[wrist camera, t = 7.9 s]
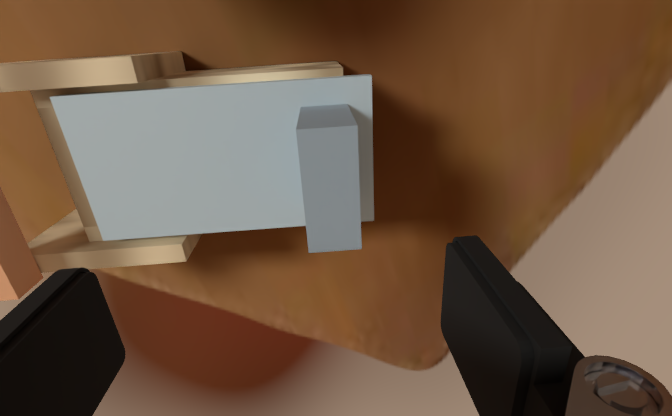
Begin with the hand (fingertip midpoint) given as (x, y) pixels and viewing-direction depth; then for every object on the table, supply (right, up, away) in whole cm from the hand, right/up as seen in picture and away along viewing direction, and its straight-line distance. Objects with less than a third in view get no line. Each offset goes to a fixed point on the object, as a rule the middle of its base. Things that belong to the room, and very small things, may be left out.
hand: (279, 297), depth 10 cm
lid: (-4, +5, +11) cm, 13 cm away
